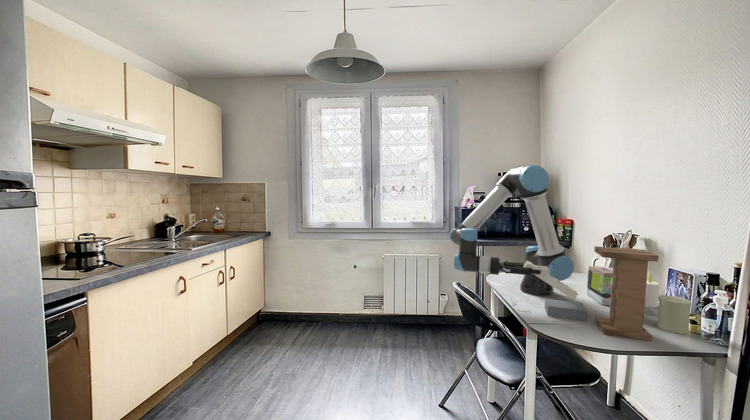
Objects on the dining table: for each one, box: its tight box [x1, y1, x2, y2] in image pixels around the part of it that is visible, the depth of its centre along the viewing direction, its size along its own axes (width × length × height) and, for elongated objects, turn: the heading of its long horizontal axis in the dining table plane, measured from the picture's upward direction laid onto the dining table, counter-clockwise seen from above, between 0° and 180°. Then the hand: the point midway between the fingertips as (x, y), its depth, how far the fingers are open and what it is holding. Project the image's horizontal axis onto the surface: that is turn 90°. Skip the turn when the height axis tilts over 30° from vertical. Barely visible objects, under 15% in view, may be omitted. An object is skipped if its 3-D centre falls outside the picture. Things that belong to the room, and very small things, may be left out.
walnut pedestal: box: [593, 245, 659, 342], centre depth 125 cm, size 12×16×30 cm
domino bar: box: [523, 261, 579, 301], centre depth 143 cm, size 4×22×3 cm
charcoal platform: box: [544, 298, 588, 322], centre depth 142 cm, size 10×14×4 cm
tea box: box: [586, 265, 613, 306], centre depth 159 cm, size 15×10×15 cm, turn 171°
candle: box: [645, 272, 660, 309], centre depth 153 cm, size 6×6×15 cm
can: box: [656, 294, 692, 335], centre depth 128 cm, size 9×9×12 cm
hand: (548, 271), depth 143 cm, fingers closed on domino bar, 4 cm apart
